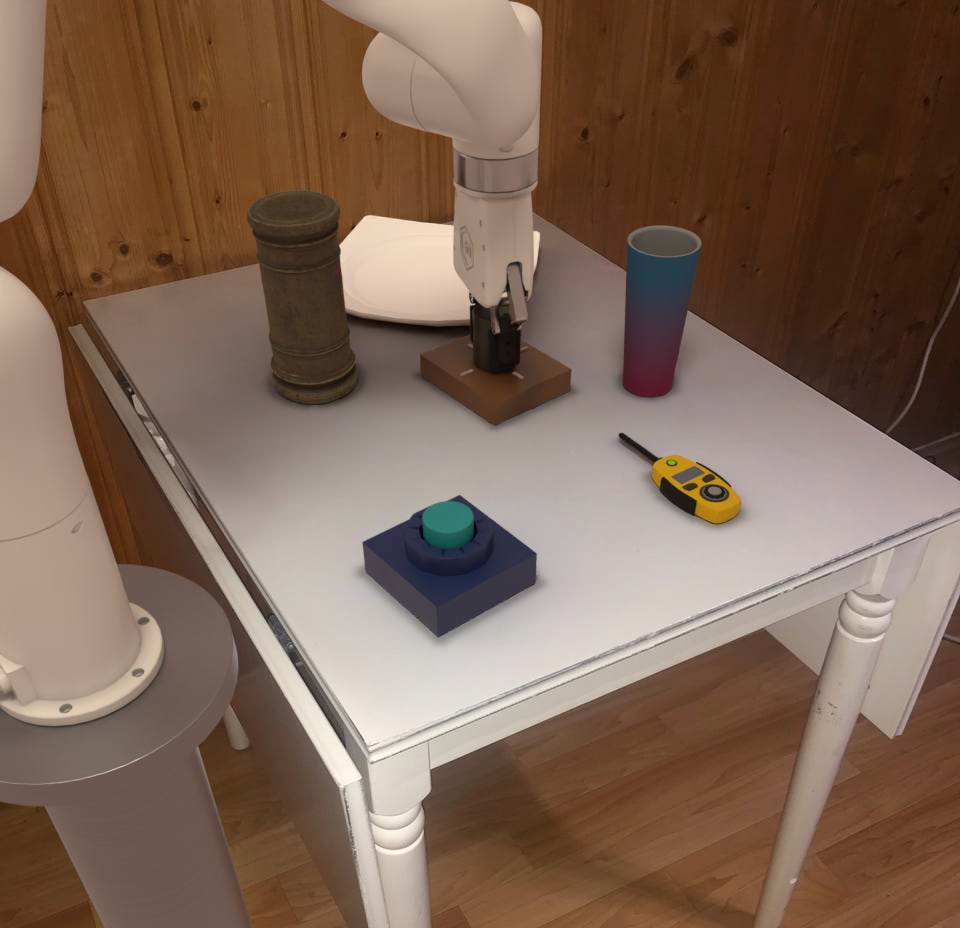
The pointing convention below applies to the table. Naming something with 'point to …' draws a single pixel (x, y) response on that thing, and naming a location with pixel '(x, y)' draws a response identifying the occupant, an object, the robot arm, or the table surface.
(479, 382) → the console
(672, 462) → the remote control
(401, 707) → the table surface
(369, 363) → the table surface
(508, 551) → the teal button cap base
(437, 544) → the teal button cap
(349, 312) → the plate
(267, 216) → the container
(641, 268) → the cup
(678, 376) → the table surface
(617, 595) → the table surface
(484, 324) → the dial
